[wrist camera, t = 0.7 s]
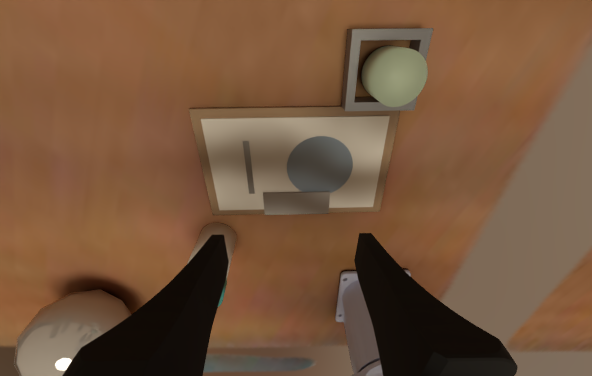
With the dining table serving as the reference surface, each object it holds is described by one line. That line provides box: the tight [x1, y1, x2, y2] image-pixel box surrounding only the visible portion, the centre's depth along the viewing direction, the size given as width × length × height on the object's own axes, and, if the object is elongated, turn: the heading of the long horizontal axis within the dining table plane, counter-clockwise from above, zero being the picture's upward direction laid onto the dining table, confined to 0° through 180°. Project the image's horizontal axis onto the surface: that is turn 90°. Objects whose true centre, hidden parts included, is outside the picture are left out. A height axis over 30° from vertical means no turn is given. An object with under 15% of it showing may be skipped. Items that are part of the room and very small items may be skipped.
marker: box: [187, 223, 237, 307], centre depth 23 cm, size 4×4×7 cm
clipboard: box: [189, 106, 400, 215], centre depth 22 cm, size 10×16×1 cm, turn 91°
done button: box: [361, 45, 428, 107], centre depth 16 cm, size 3×3×3 cm
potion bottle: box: [14, 290, 132, 376], centre depth 29 cm, size 9×10×15 cm
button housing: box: [341, 28, 433, 111], centre depth 18 cm, size 5×5×2 cm
